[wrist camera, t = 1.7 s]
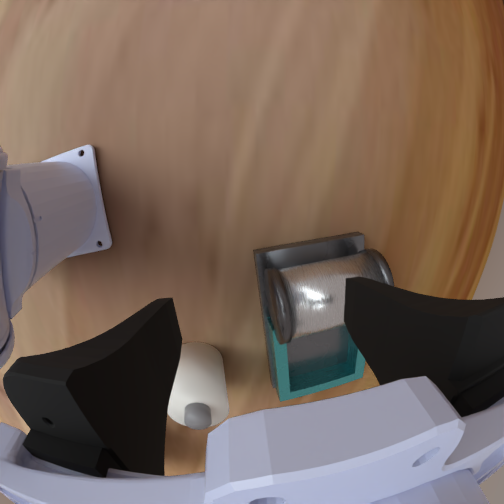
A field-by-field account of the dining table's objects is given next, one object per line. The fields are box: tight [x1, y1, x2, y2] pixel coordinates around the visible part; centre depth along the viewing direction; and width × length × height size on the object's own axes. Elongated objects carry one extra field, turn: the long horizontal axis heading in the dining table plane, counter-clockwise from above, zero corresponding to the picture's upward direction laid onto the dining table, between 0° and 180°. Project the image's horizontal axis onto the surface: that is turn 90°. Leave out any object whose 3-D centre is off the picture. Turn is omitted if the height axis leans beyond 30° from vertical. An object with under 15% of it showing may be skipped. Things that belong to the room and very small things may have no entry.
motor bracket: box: [253, 232, 394, 401], centre depth 21 cm, size 10×14×6 cm
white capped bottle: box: [167, 342, 229, 430], centre depth 20 cm, size 5×5×7 cm
